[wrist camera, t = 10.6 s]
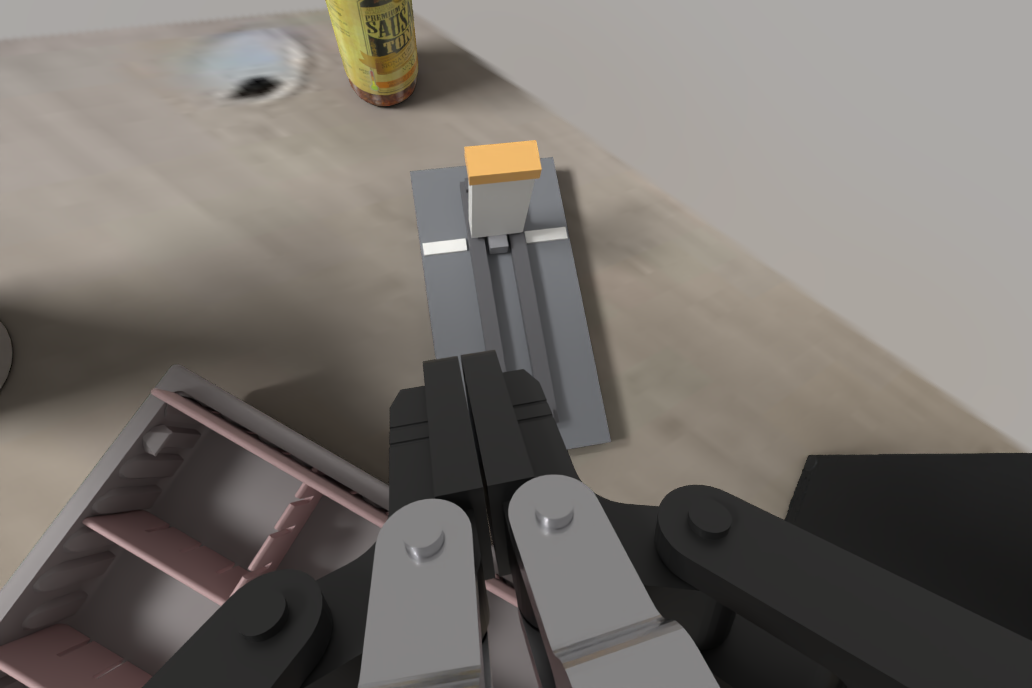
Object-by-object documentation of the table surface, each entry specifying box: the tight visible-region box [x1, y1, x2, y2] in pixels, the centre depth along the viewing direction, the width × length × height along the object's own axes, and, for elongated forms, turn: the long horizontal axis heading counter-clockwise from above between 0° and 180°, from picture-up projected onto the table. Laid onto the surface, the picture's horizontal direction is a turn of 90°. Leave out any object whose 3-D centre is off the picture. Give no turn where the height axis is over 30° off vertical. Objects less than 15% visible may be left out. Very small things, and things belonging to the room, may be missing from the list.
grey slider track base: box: [410, 157, 611, 449], centre depth 40 cm, size 24×12×4 cm, turn 10°
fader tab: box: [465, 140, 542, 254], centre depth 35 cm, size 4×4×10 cm
